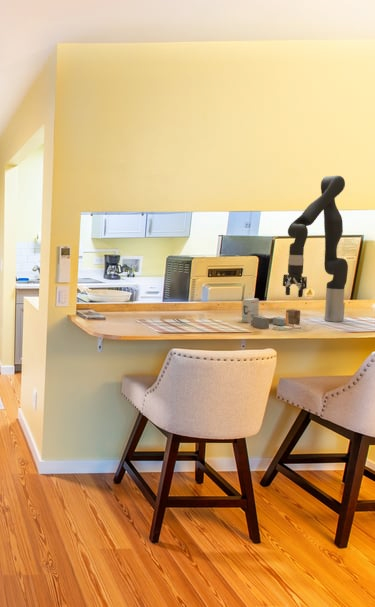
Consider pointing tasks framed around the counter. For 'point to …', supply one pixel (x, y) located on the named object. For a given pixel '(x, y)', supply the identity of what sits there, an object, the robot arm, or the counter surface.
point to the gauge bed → (264, 324)
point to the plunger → (282, 320)
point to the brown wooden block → (293, 316)
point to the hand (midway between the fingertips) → (293, 296)
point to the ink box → (249, 309)
